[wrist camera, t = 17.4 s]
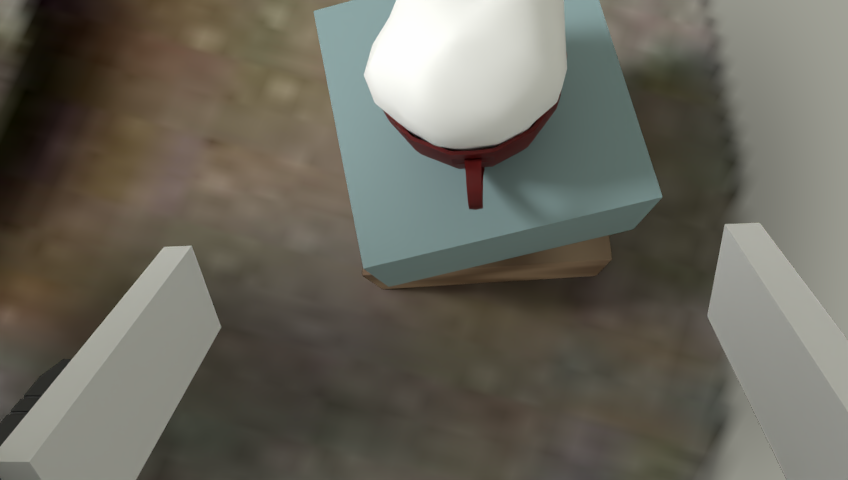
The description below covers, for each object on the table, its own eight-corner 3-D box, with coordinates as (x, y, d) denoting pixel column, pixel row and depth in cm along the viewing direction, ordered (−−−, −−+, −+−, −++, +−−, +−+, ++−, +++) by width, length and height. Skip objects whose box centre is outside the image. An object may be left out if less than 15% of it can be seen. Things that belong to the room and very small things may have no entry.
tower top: (388, 286, 27) (363, 268, 22) (344, 70, 30) (313, 11, 25) (633, 229, 26) (662, 196, 21) (566, 11, 29) (578, -62, 24)
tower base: (383, 289, 32) (362, 275, 27) (378, 99, 34) (357, 54, 30) (594, 276, 31) (612, 259, 26) (573, 79, 33) (586, 29, 28)
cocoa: (510, 237, 22) (533, 127, 10) (355, 181, 23) (214, 22, 11) (596, 8, 23) (707, -331, 11) (444, -37, 24) (400, -392, 12)
